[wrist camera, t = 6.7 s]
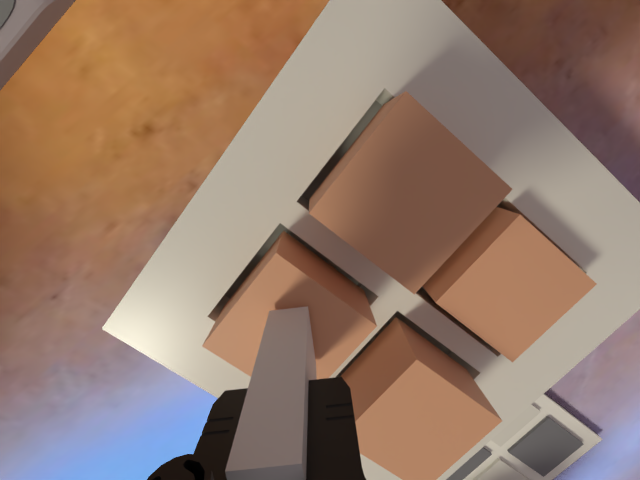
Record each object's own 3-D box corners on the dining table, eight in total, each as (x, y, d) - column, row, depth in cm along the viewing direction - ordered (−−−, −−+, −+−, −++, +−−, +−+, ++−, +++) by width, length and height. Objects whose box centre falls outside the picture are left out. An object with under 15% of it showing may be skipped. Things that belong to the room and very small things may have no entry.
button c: (309, 198, 15) (308, 213, 11) (383, 104, 14) (406, 90, 10) (392, 263, 16) (414, 294, 12) (467, 179, 15) (512, 189, 11)
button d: (223, 306, 16) (201, 346, 13) (283, 230, 16) (276, 252, 12) (303, 359, 17) (300, 408, 14) (364, 290, 16) (377, 326, 13)
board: (139, 295, 19) (101, 328, 16) (361, -18, 15) (376, -67, 12) (394, 457, 23) (408, 512, 19) (625, 238, 19) (695, 259, 15)
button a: (412, 274, 18) (435, 302, 14) (479, 201, 17) (520, 214, 13) (477, 324, 19) (512, 362, 15) (544, 258, 18) (597, 284, 14)
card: (394, 457, 23) (396, 465, 22) (498, 358, 21) (504, 364, 20) (492, 519, 25) (496, 528, 24) (597, 434, 23) (604, 441, 22)
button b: (332, 384, 17) (337, 439, 14) (396, 316, 16) (416, 359, 13) (402, 430, 18) (422, 491, 15) (466, 369, 17) (502, 420, 14)
